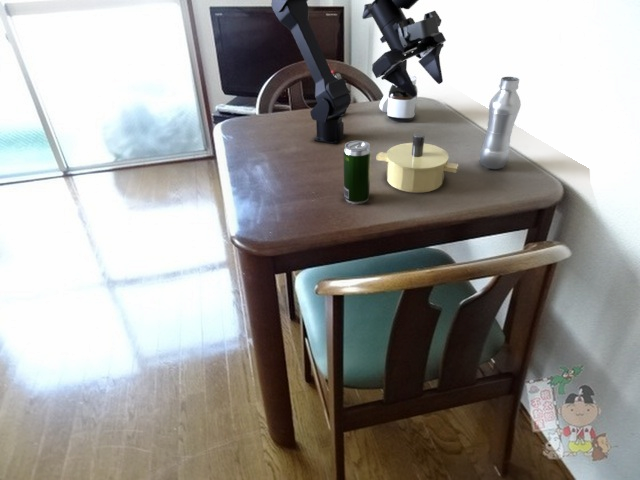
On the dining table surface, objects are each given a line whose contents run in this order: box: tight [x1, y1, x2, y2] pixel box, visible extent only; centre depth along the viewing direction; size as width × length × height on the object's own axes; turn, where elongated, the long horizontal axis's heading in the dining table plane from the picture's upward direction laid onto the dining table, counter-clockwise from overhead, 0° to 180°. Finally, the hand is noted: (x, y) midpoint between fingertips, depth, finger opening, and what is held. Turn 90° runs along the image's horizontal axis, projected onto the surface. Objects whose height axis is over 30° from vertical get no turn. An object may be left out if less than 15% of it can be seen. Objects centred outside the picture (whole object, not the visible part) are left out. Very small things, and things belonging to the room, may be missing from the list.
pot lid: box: [385, 132, 449, 170], centre depth 94 cm, size 13×13×6 cm
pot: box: [375, 151, 459, 194], centre depth 97 cm, size 12×18×6 cm
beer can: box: [343, 140, 372, 205], centre depth 89 cm, size 5×5×12 cm
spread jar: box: [378, 75, 419, 123], centre depth 129 cm, size 12×11×12 cm
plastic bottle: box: [478, 76, 522, 170], centre depth 96 cm, size 6×7×20 cm
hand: (428, 89), depth 93 cm, fingers open, 9 cm apart
